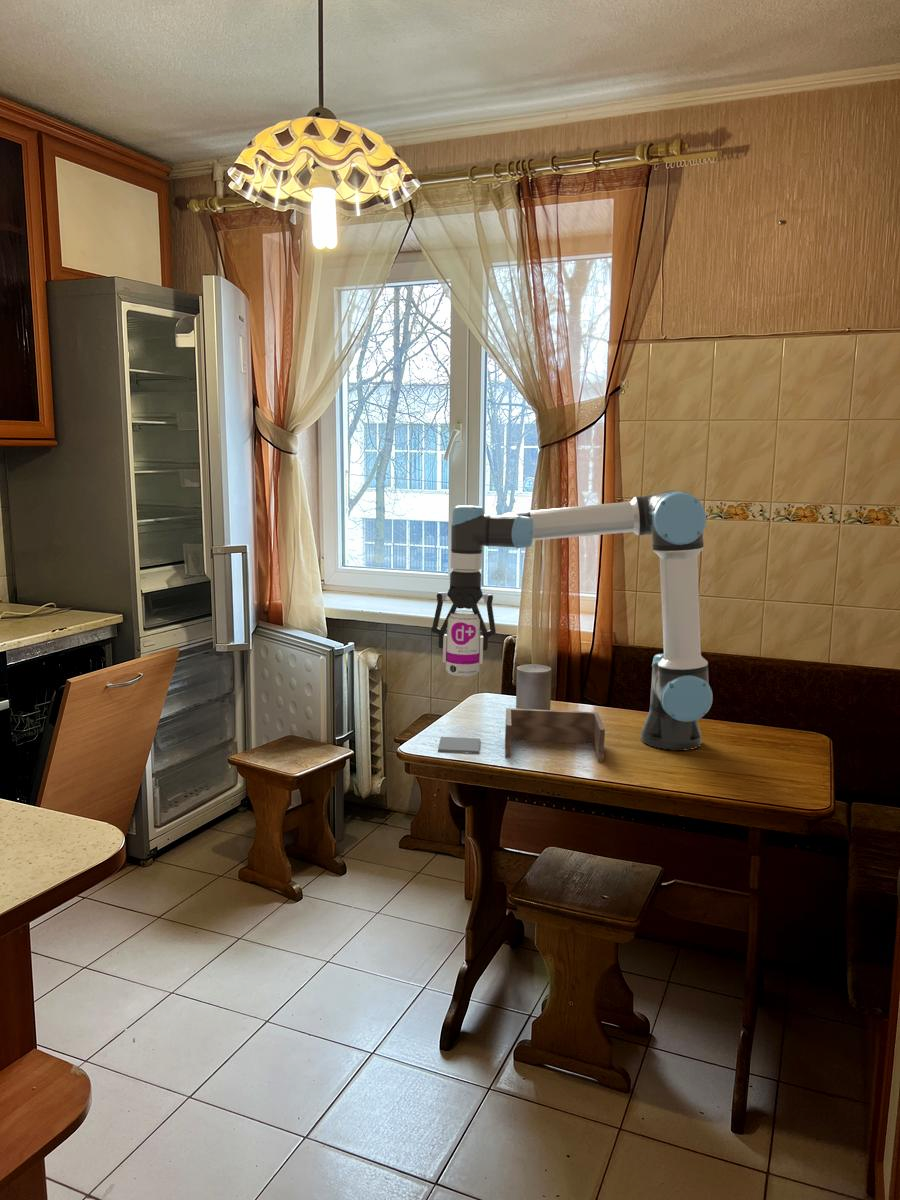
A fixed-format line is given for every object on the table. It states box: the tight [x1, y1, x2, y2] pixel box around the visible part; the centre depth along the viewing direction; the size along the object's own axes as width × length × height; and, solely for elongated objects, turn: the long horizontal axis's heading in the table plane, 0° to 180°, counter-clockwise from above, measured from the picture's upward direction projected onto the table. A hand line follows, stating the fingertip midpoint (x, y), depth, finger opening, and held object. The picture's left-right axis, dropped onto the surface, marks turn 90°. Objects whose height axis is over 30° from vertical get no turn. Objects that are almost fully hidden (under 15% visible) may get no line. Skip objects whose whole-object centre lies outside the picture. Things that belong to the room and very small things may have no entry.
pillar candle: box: [515, 663, 552, 710], centre depth 251 cm, size 10×10×15 cm
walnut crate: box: [504, 707, 606, 763], centre depth 221 cm, size 23×15×8 cm, turn 87°
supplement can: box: [445, 609, 482, 677], centre depth 219 cm, size 8×8×15 cm
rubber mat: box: [437, 736, 481, 754], centre depth 223 cm, size 10×10×1 cm
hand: (462, 662), depth 220 cm, fingers closed on supplement can, 8 cm apart
